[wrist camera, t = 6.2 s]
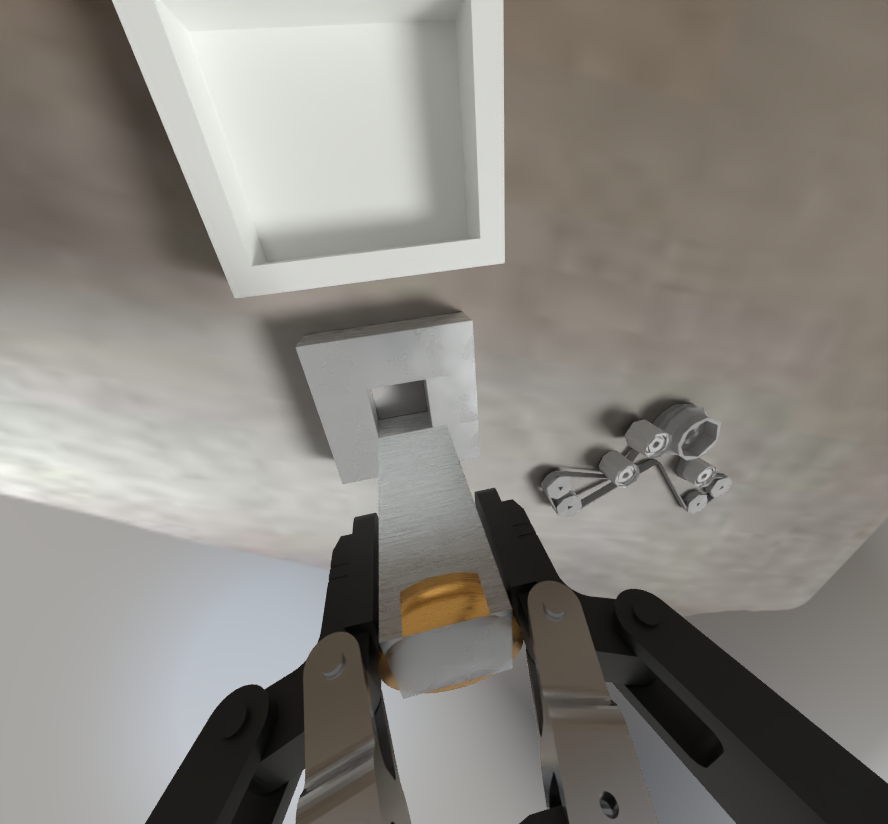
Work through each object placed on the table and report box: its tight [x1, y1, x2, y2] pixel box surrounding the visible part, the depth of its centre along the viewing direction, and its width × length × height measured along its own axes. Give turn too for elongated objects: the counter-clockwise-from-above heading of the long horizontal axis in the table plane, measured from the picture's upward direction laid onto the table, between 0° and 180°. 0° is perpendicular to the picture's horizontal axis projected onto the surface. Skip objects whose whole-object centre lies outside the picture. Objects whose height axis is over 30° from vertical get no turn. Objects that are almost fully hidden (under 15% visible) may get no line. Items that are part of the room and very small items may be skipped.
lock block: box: [296, 312, 480, 484], centre depth 26 cm, size 12×12×3 cm
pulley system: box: [541, 403, 732, 517], centre depth 36 cm, size 27×5×15 cm
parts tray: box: [112, 0, 505, 298], centre depth 17 cm, size 13×16×4 cm
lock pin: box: [378, 425, 524, 698], centre depth 11 cm, size 4×4×8 cm
